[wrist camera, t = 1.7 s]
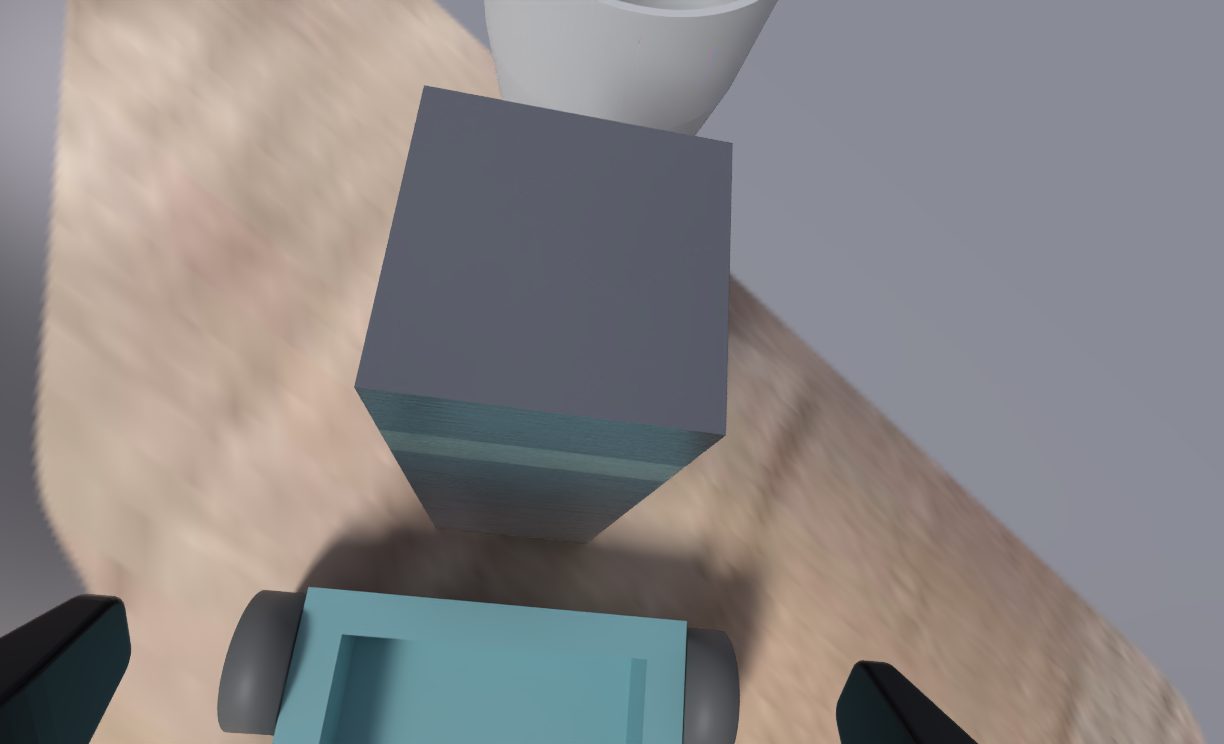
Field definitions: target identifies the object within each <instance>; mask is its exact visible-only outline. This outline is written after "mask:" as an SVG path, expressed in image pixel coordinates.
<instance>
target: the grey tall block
mask: <svg viewBox="0 0 1224 744" xmlns="http://www.w3.org/2000/svg"><path fill="white" fill-rule="evenodd" d="M731 183H732V143H728V142H723V141H718V140H712V139H707V138H702V137H696V136H691V135H686V134H681V133H675V132H670V131H665V130H659V129H654V128H649V127H643V126H638V125H633V124H627V123H622V122H617V121H611V120H606V119H601V118H595V117H590V116H585V115H579V114H574V113H569V112H563V111H558V110H553V109H547V108H542V107H537V106H531V105H526V104H521V103H515V102H510V101H505V100H499V99H494V98H489V97H483V96H478V95H473V94H467V93H462V92H457V91H451V90H446V89H441V88H435V87H430V86H425V85H424V88H423V93H422V97H421V101H420V106H419V110H418V114H417V119H416V123H415V127H414V132H413V136H412V140H411V145H410V149H409V153H408V157H407V162H406V166H405V170H404V175H403V179H402V183H401V188H400V192H399V196H398V201H397V205H396V209H395V214H394V218H393V222H392V227H391V231H390V235H389V240H388V244H387V248H386V252H385V257H384V261H383V265H382V270H381V274H380V278H379V283H378V287H377V291H376V296H375V300H374V304H373V309H372V313H371V317H370V322H369V326H368V330H367V335H366V339H365V343H364V348H363V352H362V356H361V360H360V365H359V369H358V373H357V378H356V382H355V386H354V387H355V389H356V391H357V393H358V394H359V396H360V398H361V400H362V401H363V403H364V405H365V407H366V408H367V410H368V412H369V414H370V415H371V417H372V419H373V420H374V422H375V424H376V426H377V427H378V429H379V431H380V433H381V434H382V436H383V438H384V440H385V441H386V443H387V445H388V447H389V448H390V450H391V452H392V454H393V455H394V457H395V459H396V460H397V462H398V464H399V466H400V467H401V469H402V471H403V473H404V474H405V476H406V478H407V480H408V481H409V483H410V485H411V487H412V488H413V490H414V492H415V494H416V495H417V497H418V499H419V501H420V502H421V504H422V506H423V507H424V509H425V511H426V513H427V514H428V516H429V518H430V520H431V521H432V523H433V525H434V527H435V528H441V529H451V530H460V531H470V532H479V533H489V534H499V535H508V536H518V537H527V538H537V539H547V540H556V541H566V542H575V543H585V544H586V543H588V542H589V541H590V540H592V539H593V538H594V537H595V536H597V535H598V534H599V533H601V532H602V531H603V530H604V529H606V528H607V527H608V526H610V525H611V524H612V523H613V522H615V521H616V520H617V519H619V518H620V517H621V516H622V515H624V514H625V513H626V512H628V511H629V510H630V509H631V508H633V507H634V506H635V505H637V504H638V503H639V502H640V501H642V500H643V499H644V498H646V497H647V496H648V495H649V494H651V493H652V492H653V491H655V490H656V489H657V488H658V487H660V486H661V485H662V484H664V483H665V482H666V481H667V480H669V479H670V478H671V477H673V476H674V475H675V474H676V473H678V472H679V471H680V470H682V469H683V468H684V467H685V466H687V465H688V464H689V463H691V462H692V461H693V460H694V459H696V458H697V457H698V456H700V455H701V454H702V453H703V452H705V451H706V450H707V449H709V448H710V447H711V446H712V445H714V444H715V443H716V442H718V441H719V440H720V439H721V438H723V437H724V436H725V435H726V408H727V363H728V318H729V273H730V227H731Z"/></svg>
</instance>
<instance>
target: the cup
mask: <svg viewBox="0 0 1224 744" xmlns="http://www.w3.org/2000/svg"><path fill="white" fill-rule="evenodd" d="M484 1H485V14H486V24H487V30H488V35H489V40H490V44H491V49H492V54H493V59H494V64H495V69H496V73H497V78H498V83H499V88H500V93H501V98H502V100H505V101H510V102H515V103H521V104H526V105H531V106H537V107H542V108H547V109H553V110H558V111H563V112H569V113H574V114H579V115H585V116H590V117H595V118H601V119H606V120H611V121H617V122H622V123H627V124H633V125H638V126H643V127H649V128H654V129H659V130H665V131H670V132H675V133H681V134H686V135H691V136H695V135H696V133H697V132H698V131H699V129H700V128H701V127H702V125H703V124H704V123H705V121H706V120H707V118H708V117H709V116H710V114H711V113H712V112H713V110H714V109H715V107H716V106H717V105H718V103H719V102H720V101H721V99H722V98H723V96H724V95H725V94H726V92H727V91H728V89H729V88H730V86H731V85H732V83H733V81H734V79H735V77H736V75H737V73H738V72H739V70H740V68H741V66H742V65H743V63H744V61H745V59H746V57H747V55H748V54H749V52H750V50H751V48H752V46H753V44H754V43H755V41H756V39H757V37H758V35H759V33H760V32H761V30H762V28H763V26H764V24H765V22H766V20H767V19H768V17H769V15H770V13H771V11H772V10H773V8H774V6H775V4H776V2H777V0H484Z"/></svg>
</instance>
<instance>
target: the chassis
mask: <svg viewBox="0 0 1224 744" xmlns="http://www.w3.org/2000/svg"><path fill="white" fill-rule="evenodd" d="M739 706H740V690H739V676H738V668H737V662H736V657H735V653H734V649H733V646H732V643H731V641H730V639H729V637H728V636H727V635H726V633H724V632H723V631H717V630H706V629H695V628H687V621H680V620H669V619H658V618H647V617H636V616H625V615H614V614H603V613H592V612H581V611H570V610H559V609H548V608H537V607H526V606H515V605H504V604H492V603H481V602H470V601H459V600H448V599H437V598H426V597H415V596H404V595H393V594H382V593H371V592H360V591H349V590H338V589H327V588H316V587H308V591H307V594H303V593H292V592H281V591H270V590H262V591H260V592H259V593H257V594H256V595H255V596H254V597H253V599H252V600H251V601H250V603H249V604H248V606H247V607H246V609H245V611H244V613H243V614H242V616H241V618H240V621H239V623H238V625H237V627H236V630H235V632H234V635H233V637H232V640H231V643H230V646H229V649H228V652H227V655H226V659H225V663H224V667H223V671H222V675H221V680H220V686H219V694H218V708H217V710H218V722H219V725H220V727H221V729H222V730H223V731H224V732H230V733H246V734H262V735H274V738H273V742H272V744H734V743H735V739H736V734H737V729H738V721H739Z"/></svg>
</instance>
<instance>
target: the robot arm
mask: <svg viewBox="0 0 1224 744" xmlns="http://www.w3.org/2000/svg"><path fill="white" fill-rule="evenodd" d="M130 656H131V643H130V636H129V630H128V623H127V617H126V610H125V606H124V602H123V601H122V600H121V599H120V598H118V597H116V596H106V595H94V594H81V595H78V596H75V597H73V598H71V599H69V600H68V601H66V602H64V603H62V604H60V605H58V606H56V607H55V608H53V609H51V610H49V611H47V612H46V613H44V614H42V615H40V616H38V617H36V618H35V619H33V620H31V621H29V622H27V623H26V624H24V625H22V626H20V627H18V628H17V629H15V630H13V631H11V632H9V633H8V634H6V635H4V636H2V637H1V638H0V744H89V742H90V740H91V738H92V737H93V735H94V733H95V731H96V729H97V727H98V725H99V723H100V721H101V719H102V717H103V715H104V713H105V711H106V709H107V707H108V705H109V703H110V701H111V699H112V697H113V695H114V693H115V691H116V689H117V687H118V685H119V683H120V681H121V679H122V677H123V675H124V673H125V671H126V669H127V666H128V663H129V660H130ZM836 720H837V726H838V731H839V735H840V740H841V744H978V743H977V742H976V741H975V740H974V739H972V738H971V737H970V736H969V735H968V734H967V733H966V732H965V731H964V730H963V729H961V728H960V727H959V726H958V725H957V724H956V723H955V722H954V721H953V720H952V719H951V718H949V717H948V716H947V715H946V714H945V713H944V712H943V711H942V710H941V709H940V708H938V707H937V706H936V705H935V704H934V703H933V702H932V701H931V700H930V699H929V698H927V697H926V696H925V695H924V694H923V693H922V692H921V691H920V690H919V689H918V688H916V687H915V686H914V685H913V684H912V683H911V682H910V681H909V680H908V679H907V678H906V677H904V676H903V675H902V674H901V673H900V672H899V671H898V670H897V669H896V668H894V667H893V666H892V665H890V664H888V663H885V662H876V661H864V660H862V661H859V662H857V663H856V664H855V665H854V667H853V668H852V671H851V673H850V675H849V677H848V680H847V682H846V684H845V686H844V688H843V691H842V693H841V695H840V697H839V700H838V702H837V707H836Z"/></svg>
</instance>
